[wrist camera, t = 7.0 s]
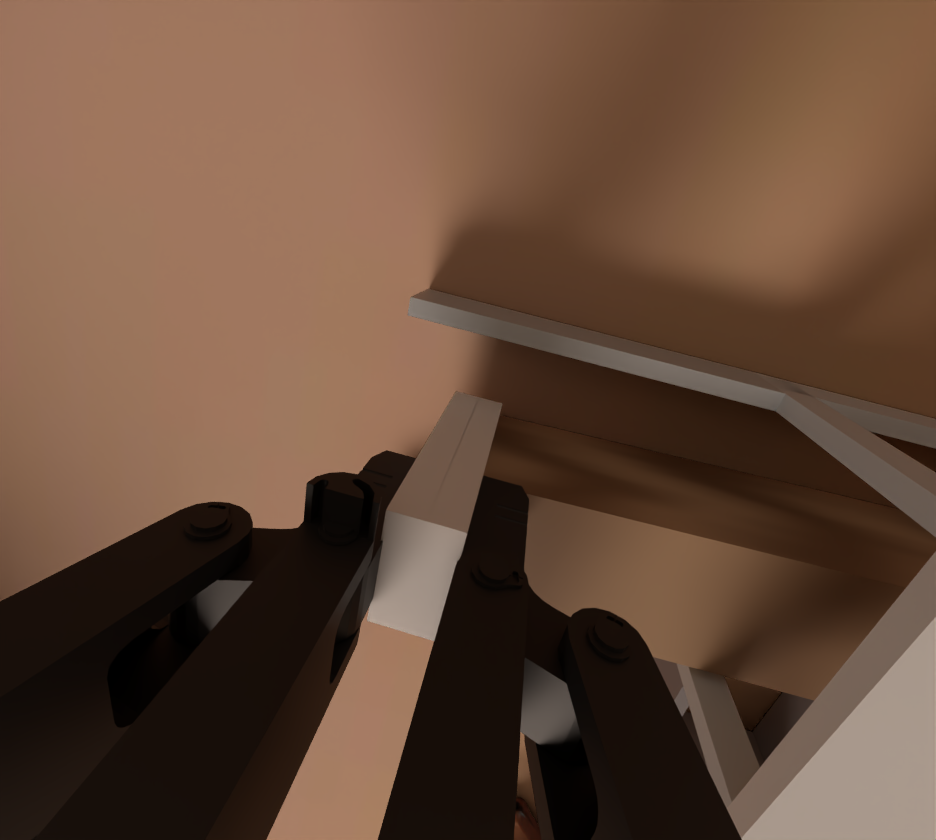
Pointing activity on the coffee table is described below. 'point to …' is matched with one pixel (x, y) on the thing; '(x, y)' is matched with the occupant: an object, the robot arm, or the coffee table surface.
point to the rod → (707, 555)
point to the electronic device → (525, 823)
